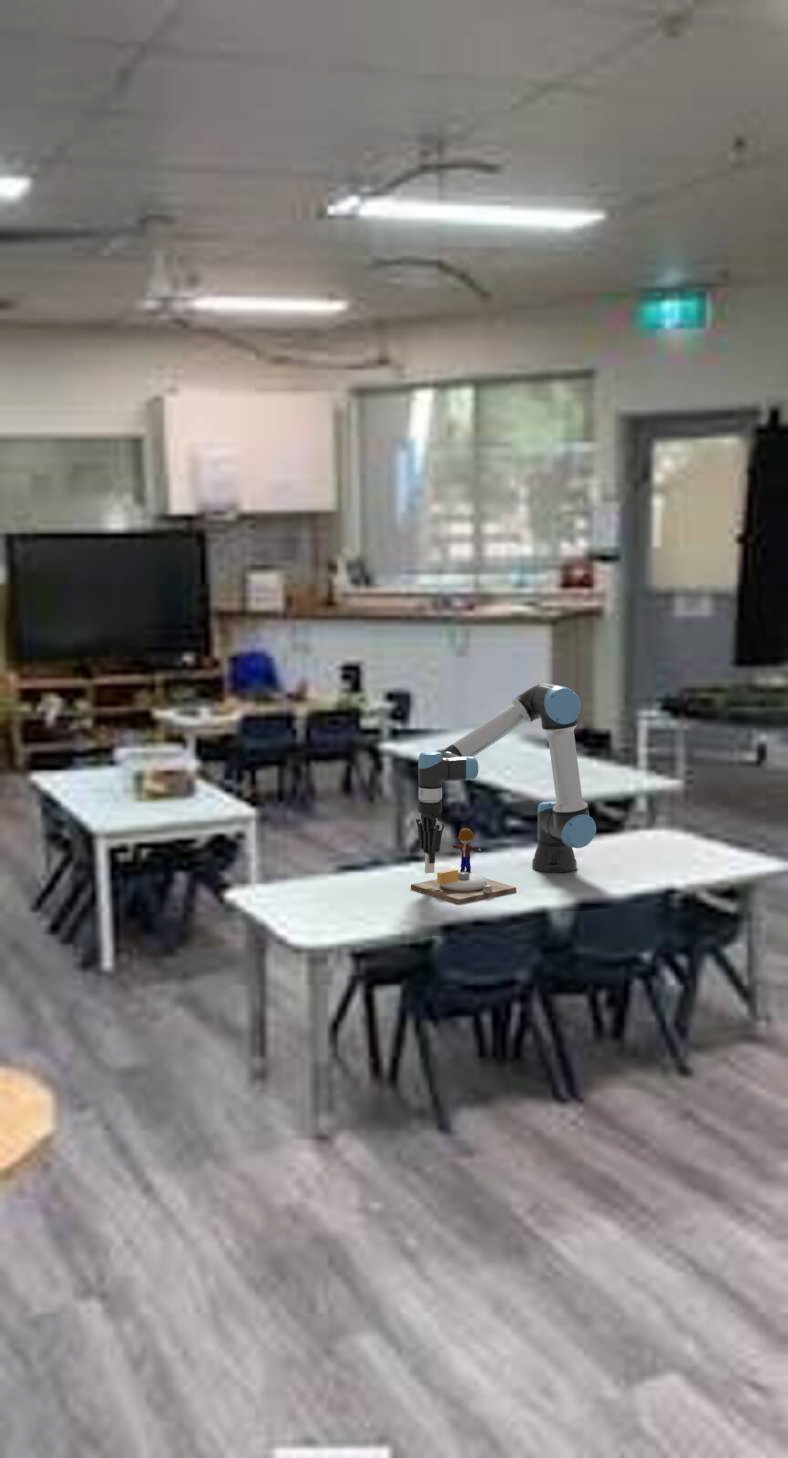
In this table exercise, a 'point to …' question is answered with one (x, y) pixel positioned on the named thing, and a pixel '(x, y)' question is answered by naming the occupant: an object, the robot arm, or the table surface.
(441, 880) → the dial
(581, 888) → the table surface
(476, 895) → the board
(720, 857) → the table surface
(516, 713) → the robot arm
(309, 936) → the table surface
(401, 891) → the table surface
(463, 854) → the toy
